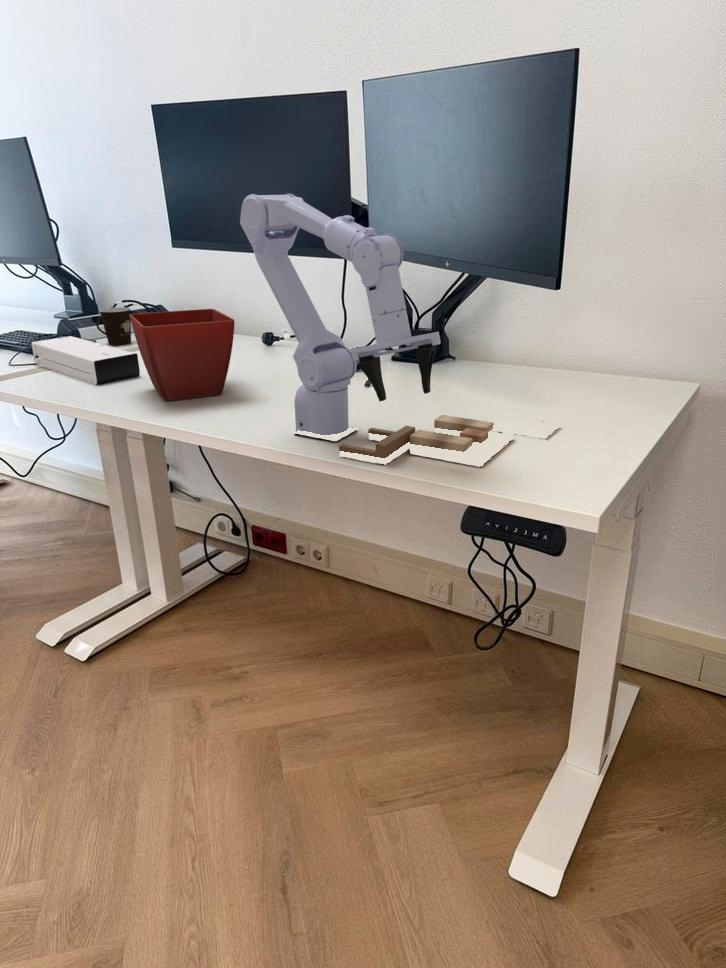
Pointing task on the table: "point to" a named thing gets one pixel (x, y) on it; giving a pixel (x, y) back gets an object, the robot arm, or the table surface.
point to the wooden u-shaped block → (469, 434)
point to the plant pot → (185, 351)
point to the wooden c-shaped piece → (383, 442)
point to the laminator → (86, 359)
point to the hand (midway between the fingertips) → (404, 396)
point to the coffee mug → (116, 325)
